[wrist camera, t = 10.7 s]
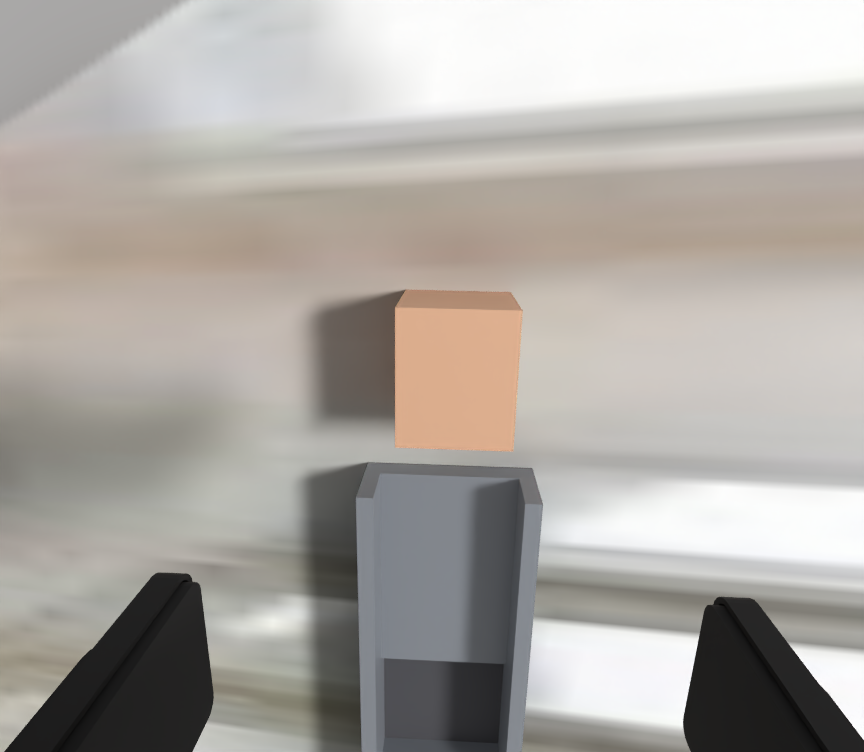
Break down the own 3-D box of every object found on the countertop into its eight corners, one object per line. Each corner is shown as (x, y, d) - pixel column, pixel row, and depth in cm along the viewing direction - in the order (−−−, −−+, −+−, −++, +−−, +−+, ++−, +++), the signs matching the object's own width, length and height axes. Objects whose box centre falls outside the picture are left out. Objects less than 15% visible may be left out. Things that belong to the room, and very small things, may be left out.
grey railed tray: (509, 759, 35) (515, 822, 31) (372, 752, 35) (363, 813, 32) (532, 468, 29) (542, 504, 25) (368, 462, 29) (355, 497, 26)
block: (513, 451, 23) (522, 310, 22) (395, 447, 24) (394, 307, 22) (503, 410, 28) (510, 292, 27) (405, 407, 28) (405, 289, 27)
